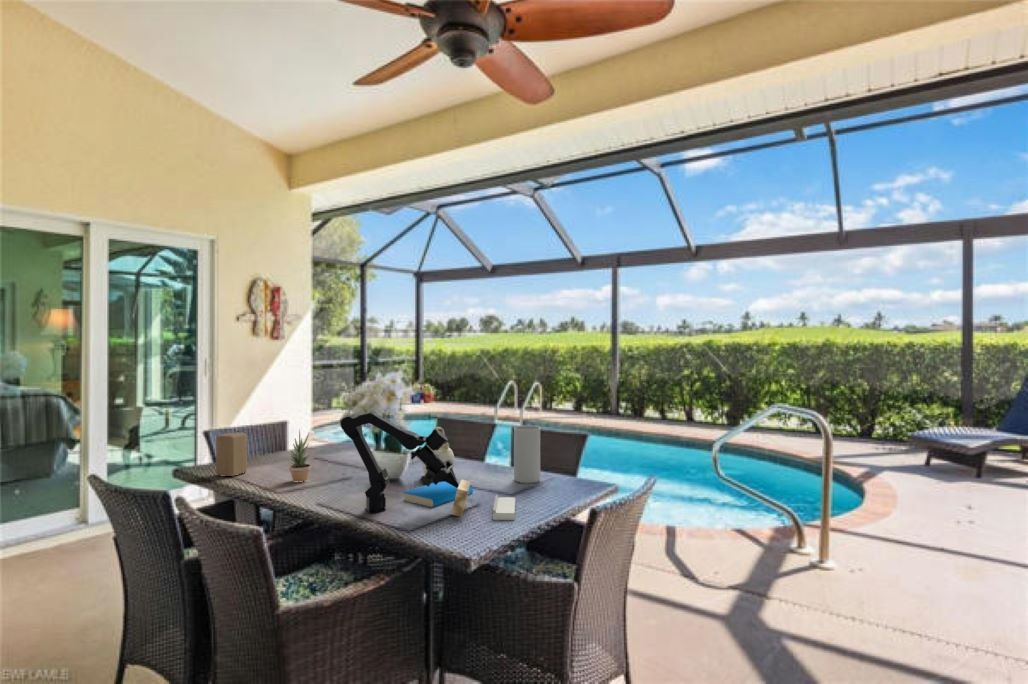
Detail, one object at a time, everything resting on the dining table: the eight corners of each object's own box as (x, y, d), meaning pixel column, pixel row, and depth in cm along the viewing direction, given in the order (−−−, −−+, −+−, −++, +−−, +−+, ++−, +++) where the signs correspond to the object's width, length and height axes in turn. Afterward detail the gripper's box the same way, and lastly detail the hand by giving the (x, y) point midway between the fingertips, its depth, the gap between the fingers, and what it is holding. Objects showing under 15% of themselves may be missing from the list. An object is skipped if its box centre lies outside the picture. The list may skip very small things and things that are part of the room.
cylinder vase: (530, 485, 252) (530, 430, 252) (508, 480, 259) (508, 428, 259) (545, 479, 262) (545, 427, 262) (524, 475, 269) (524, 424, 269)
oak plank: (451, 514, 207) (457, 488, 207) (455, 503, 221) (461, 479, 221) (461, 517, 207) (467, 491, 207) (465, 505, 221) (471, 481, 221)
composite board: (492, 519, 204) (492, 510, 204) (495, 503, 224) (495, 494, 224) (514, 519, 203) (514, 510, 203) (515, 503, 223) (515, 495, 223)
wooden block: (215, 476, 267) (215, 435, 267) (231, 471, 276) (231, 432, 276) (231, 477, 264) (231, 436, 264) (247, 473, 273) (247, 433, 273)
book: (403, 491, 228) (443, 478, 249) (403, 502, 228) (443, 488, 249) (433, 498, 218) (473, 484, 239) (433, 509, 218) (473, 494, 239)
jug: (416, 478, 264) (416, 426, 264) (444, 473, 274) (444, 423, 274) (431, 484, 252) (431, 430, 252) (460, 479, 262) (460, 427, 262)
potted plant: (314, 478, 263) (314, 427, 262) (305, 484, 253) (305, 430, 253) (294, 478, 264) (294, 426, 263) (284, 483, 254) (284, 430, 254)
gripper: (419, 467, 223) (446, 494, 223) (410, 479, 205) (440, 509, 205) (438, 448, 223) (466, 475, 223) (431, 458, 205) (461, 487, 204)
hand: (458, 487), depth 214 cm, fingers closed
